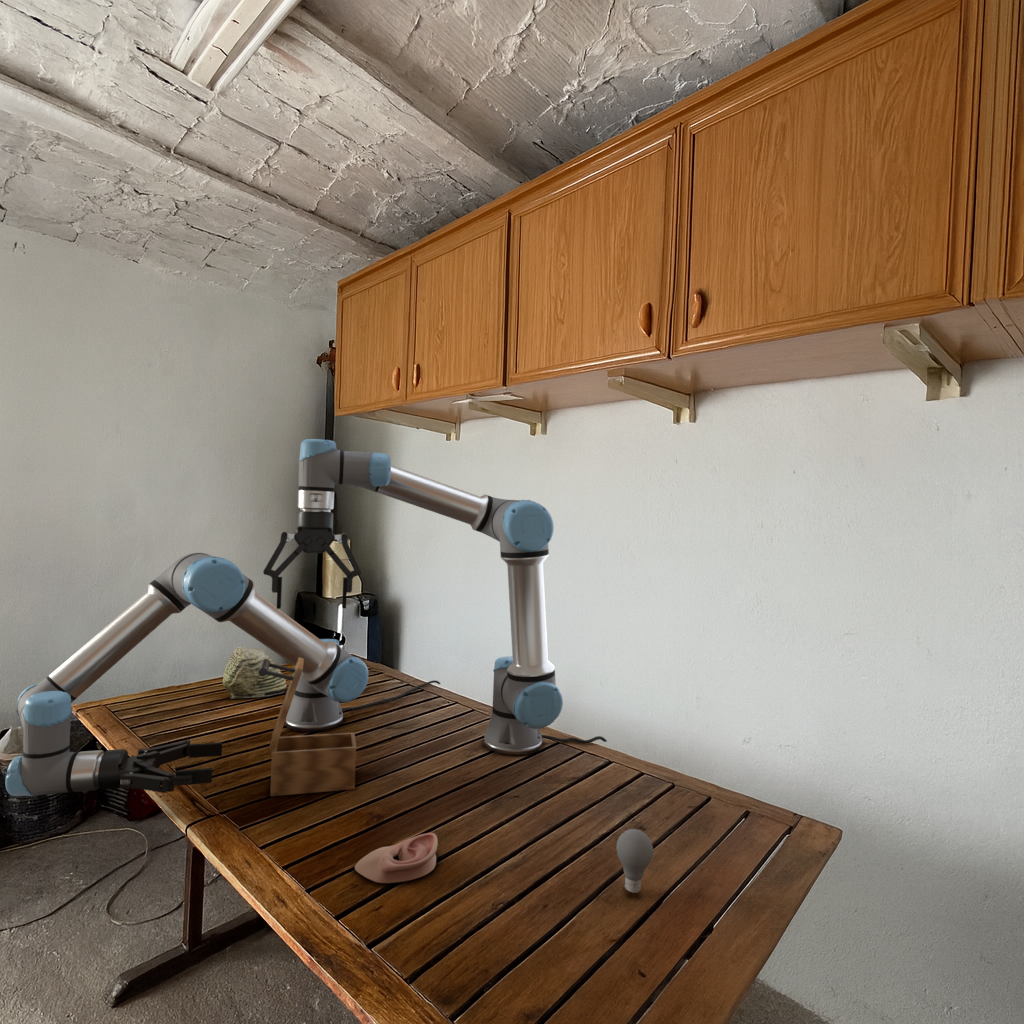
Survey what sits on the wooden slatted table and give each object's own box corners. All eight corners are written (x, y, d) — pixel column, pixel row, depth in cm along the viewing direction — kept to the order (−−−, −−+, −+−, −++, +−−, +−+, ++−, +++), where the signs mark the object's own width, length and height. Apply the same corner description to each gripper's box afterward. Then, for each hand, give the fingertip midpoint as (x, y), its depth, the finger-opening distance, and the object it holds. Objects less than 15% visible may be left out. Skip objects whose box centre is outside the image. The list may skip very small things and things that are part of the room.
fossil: (218, 695, 195) (220, 647, 195) (278, 685, 208) (279, 640, 207) (228, 703, 189) (230, 653, 188) (289, 692, 201) (290, 645, 201)
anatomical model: (347, 854, 106) (375, 820, 117) (346, 877, 106) (374, 841, 117) (422, 866, 103) (444, 831, 114) (421, 891, 103) (443, 853, 114)
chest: (352, 771, 147) (354, 732, 146) (354, 789, 138) (356, 747, 138) (273, 777, 142) (274, 737, 141) (270, 796, 133) (271, 753, 133)
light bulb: (610, 879, 108) (613, 822, 108) (644, 879, 109) (647, 822, 109) (619, 902, 102) (622, 840, 102) (655, 901, 103) (658, 840, 103)
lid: (304, 658, 143) (266, 649, 140) (302, 669, 134) (262, 659, 132) (277, 734, 142) (239, 726, 139) (274, 750, 133) (233, 742, 131)
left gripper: (120, 763, 140) (225, 755, 146) (79, 819, 116) (206, 807, 122) (121, 729, 140) (226, 723, 146) (80, 778, 116) (207, 768, 122)
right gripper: (252, 508, 131) (248, 611, 131) (375, 513, 138) (371, 610, 139) (255, 508, 138) (252, 604, 138) (372, 512, 145) (368, 604, 146)
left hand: (217, 761), depth 134 cm, fingers open, 13 cm apart
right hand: (311, 607), depth 139 cm, fingers open, 13 cm apart
